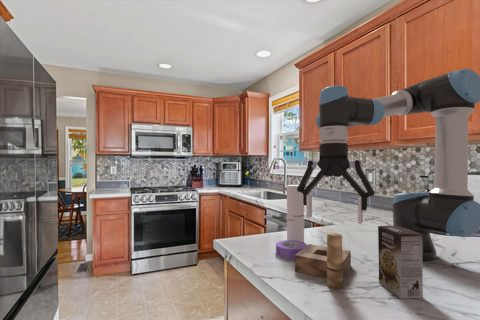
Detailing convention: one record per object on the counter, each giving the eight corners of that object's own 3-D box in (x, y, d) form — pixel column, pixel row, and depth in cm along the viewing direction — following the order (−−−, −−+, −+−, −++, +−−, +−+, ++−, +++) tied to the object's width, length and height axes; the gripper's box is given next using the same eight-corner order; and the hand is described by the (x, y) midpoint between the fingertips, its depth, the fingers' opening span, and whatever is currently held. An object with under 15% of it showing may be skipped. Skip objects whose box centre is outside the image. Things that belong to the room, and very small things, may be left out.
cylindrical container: (304, 247, 106) (304, 186, 106) (286, 246, 107) (286, 185, 108) (303, 242, 113) (303, 184, 113) (287, 241, 114) (286, 184, 115)
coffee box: (377, 283, 73) (376, 225, 74) (399, 282, 74) (398, 225, 74) (400, 299, 64) (399, 233, 65) (424, 298, 65) (423, 233, 65)
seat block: (350, 266, 86) (350, 250, 86) (341, 281, 74) (341, 263, 74) (309, 258, 94) (309, 244, 94) (294, 271, 82) (294, 254, 82)
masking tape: (273, 257, 95) (273, 247, 95) (279, 248, 106) (279, 238, 106) (306, 261, 91) (305, 250, 91) (309, 251, 102) (308, 241, 102)
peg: (344, 285, 72) (343, 234, 72) (341, 291, 69) (340, 237, 69) (329, 281, 74) (328, 232, 75) (325, 287, 71) (324, 235, 71)
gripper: (286, 143, 76) (285, 216, 75) (383, 139, 63) (383, 228, 62) (295, 145, 82) (295, 213, 82) (385, 142, 69) (386, 223, 68)
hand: (333, 219), depth 72 cm, fingers open, 13 cm apart
